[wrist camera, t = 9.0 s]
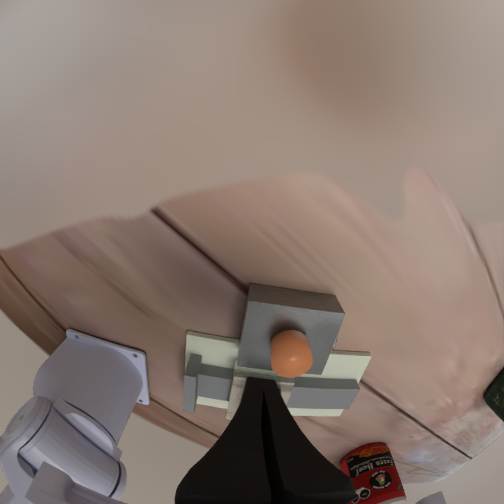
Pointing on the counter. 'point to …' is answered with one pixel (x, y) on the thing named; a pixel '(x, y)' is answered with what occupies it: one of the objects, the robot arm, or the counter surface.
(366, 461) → the canned food
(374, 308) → the counter surface
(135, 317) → the counter surface
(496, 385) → the coffee jar
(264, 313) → the gauge box
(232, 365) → the track board
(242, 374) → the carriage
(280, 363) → the plunger
